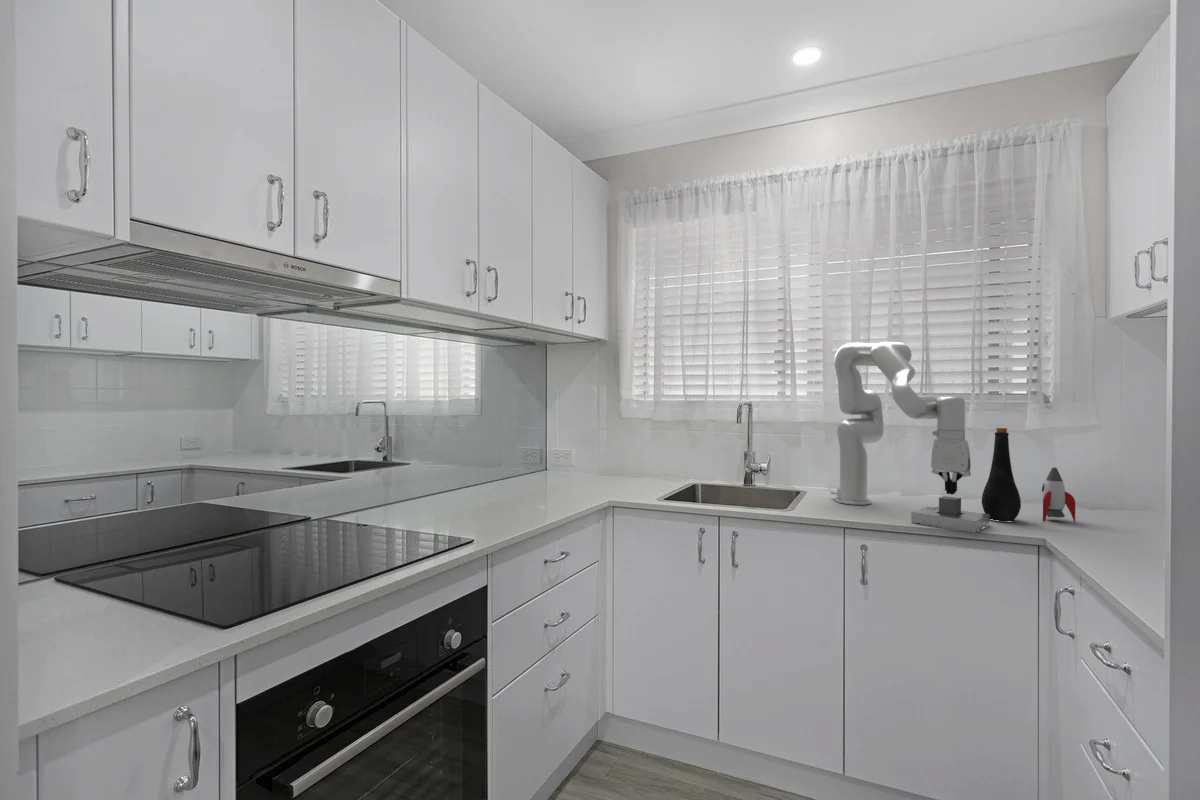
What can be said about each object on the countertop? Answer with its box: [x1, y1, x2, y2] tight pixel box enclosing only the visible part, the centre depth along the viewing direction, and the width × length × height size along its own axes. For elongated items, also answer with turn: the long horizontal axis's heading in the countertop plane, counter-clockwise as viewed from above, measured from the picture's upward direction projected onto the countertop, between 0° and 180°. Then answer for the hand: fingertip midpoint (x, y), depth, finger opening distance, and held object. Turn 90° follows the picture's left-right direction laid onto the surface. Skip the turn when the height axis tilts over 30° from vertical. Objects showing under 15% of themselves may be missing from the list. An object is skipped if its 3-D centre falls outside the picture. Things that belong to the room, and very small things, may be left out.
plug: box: [938, 495, 962, 516], centre depth 187 cm, size 5×7×8 cm, turn 132°
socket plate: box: [910, 504, 991, 534], centre depth 186 cm, size 18×14×4 cm
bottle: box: [981, 427, 1022, 522], centre depth 192 cm, size 11×11×30 cm
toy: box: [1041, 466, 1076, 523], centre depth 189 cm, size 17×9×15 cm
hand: (950, 493), depth 186 cm, fingers closed
